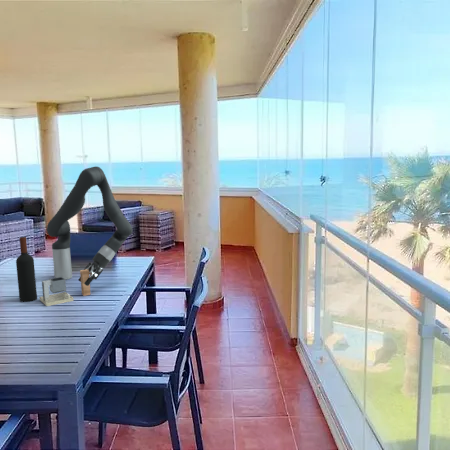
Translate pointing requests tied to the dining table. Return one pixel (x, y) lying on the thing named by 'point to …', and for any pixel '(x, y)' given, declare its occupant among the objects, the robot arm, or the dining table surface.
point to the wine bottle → (26, 274)
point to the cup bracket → (55, 287)
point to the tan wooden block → (84, 276)
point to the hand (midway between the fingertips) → (82, 283)
